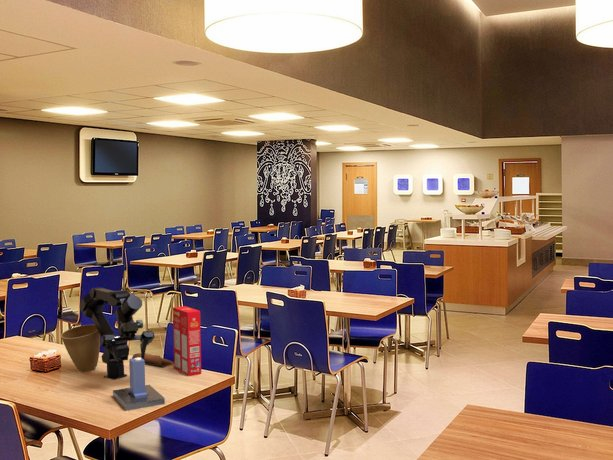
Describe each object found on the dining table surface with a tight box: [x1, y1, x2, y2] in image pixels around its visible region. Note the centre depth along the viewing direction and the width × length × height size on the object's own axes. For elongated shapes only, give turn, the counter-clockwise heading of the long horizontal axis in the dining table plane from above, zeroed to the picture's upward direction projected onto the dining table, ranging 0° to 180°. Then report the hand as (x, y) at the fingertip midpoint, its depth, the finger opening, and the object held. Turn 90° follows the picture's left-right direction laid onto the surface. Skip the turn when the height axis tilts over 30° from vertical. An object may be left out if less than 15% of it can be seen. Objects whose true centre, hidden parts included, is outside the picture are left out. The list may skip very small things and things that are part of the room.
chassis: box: [112, 384, 166, 411], centre depth 220 cm, size 18×13×2 cm
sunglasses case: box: [131, 352, 174, 368], centre depth 269 cm, size 18×7×7 cm
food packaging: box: [172, 305, 202, 377], centre depth 255 cm, size 15×5×25 cm, turn 34°
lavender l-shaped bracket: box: [127, 357, 147, 399], centre depth 220 cm, size 10×4×15 cm, turn 29°
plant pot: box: [60, 324, 101, 372], centre depth 259 cm, size 15×15×16 cm
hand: (130, 360), depth 233 cm, fingers open, 9 cm apart
